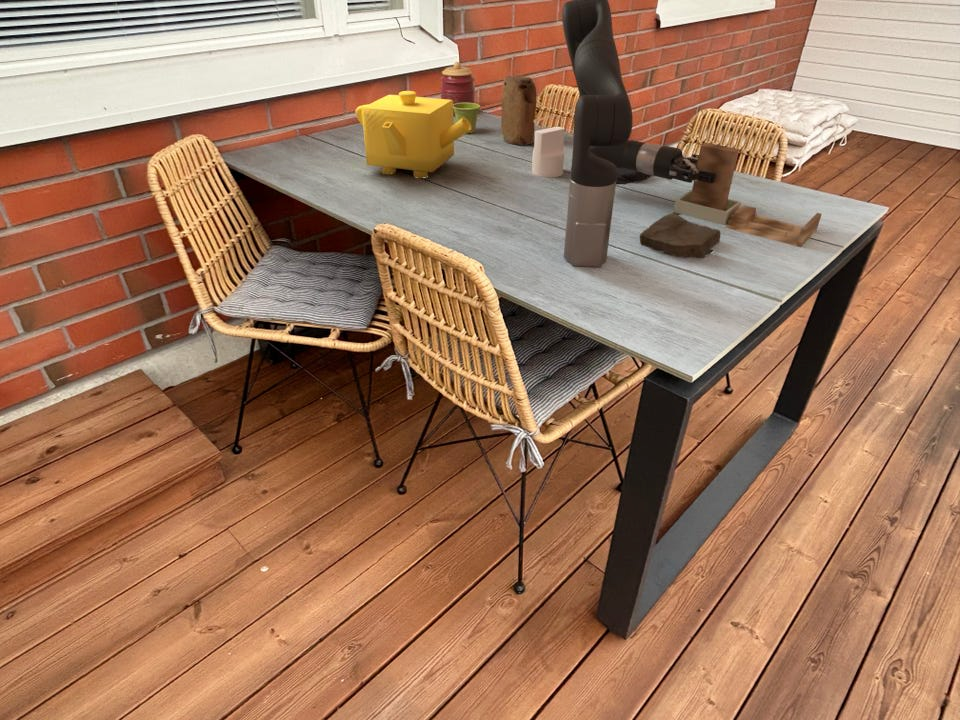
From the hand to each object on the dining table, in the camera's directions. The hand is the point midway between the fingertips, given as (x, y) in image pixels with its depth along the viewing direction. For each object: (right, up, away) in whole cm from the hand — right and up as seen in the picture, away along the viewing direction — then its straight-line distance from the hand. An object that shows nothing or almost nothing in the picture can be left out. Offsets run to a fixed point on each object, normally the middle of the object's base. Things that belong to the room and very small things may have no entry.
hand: (722, 174), depth 153 cm
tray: (-1, -8, +7) cm, 11 cm away
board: (-2, -8, +7) cm, 10 cm away
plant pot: (-62, +35, +70) cm, 100 cm away
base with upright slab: (-38, +10, +35) cm, 52 cm away
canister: (-66, +50, +93) cm, 124 cm away
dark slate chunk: (-19, +11, +36) cm, 42 cm away
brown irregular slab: (-12, -18, -6) cm, 22 cm away
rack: (+11, -14, -1) cm, 17 cm away
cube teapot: (-77, +11, +36) cm, 86 cm away
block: (-45, +28, +60) cm, 80 cm away
